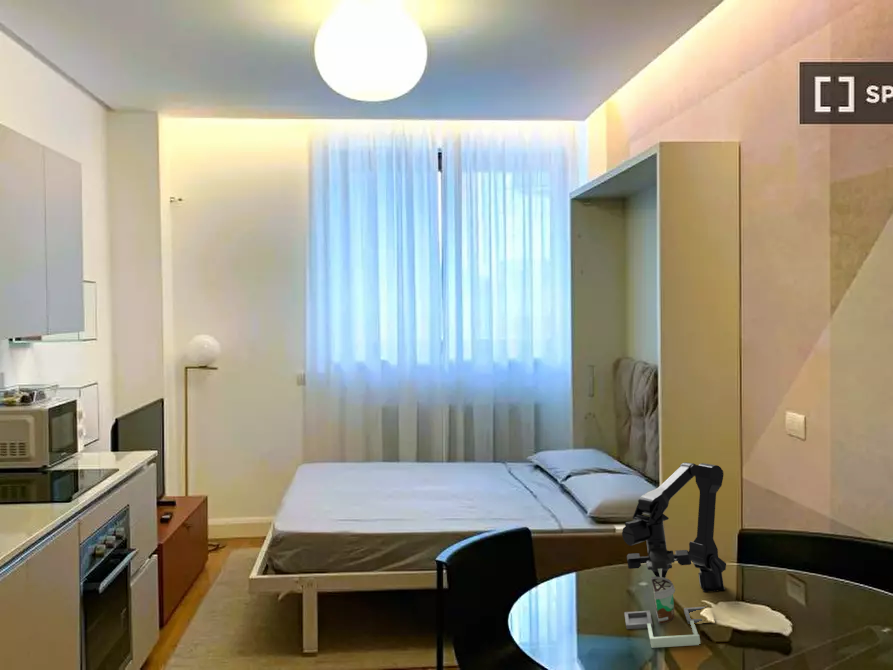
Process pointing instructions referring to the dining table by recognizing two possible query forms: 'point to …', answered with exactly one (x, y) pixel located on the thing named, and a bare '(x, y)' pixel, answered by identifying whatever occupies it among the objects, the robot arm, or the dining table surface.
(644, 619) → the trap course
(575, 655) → the dining table surface
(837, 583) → the dining table surface
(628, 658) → the dining table surface
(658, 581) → the food container
